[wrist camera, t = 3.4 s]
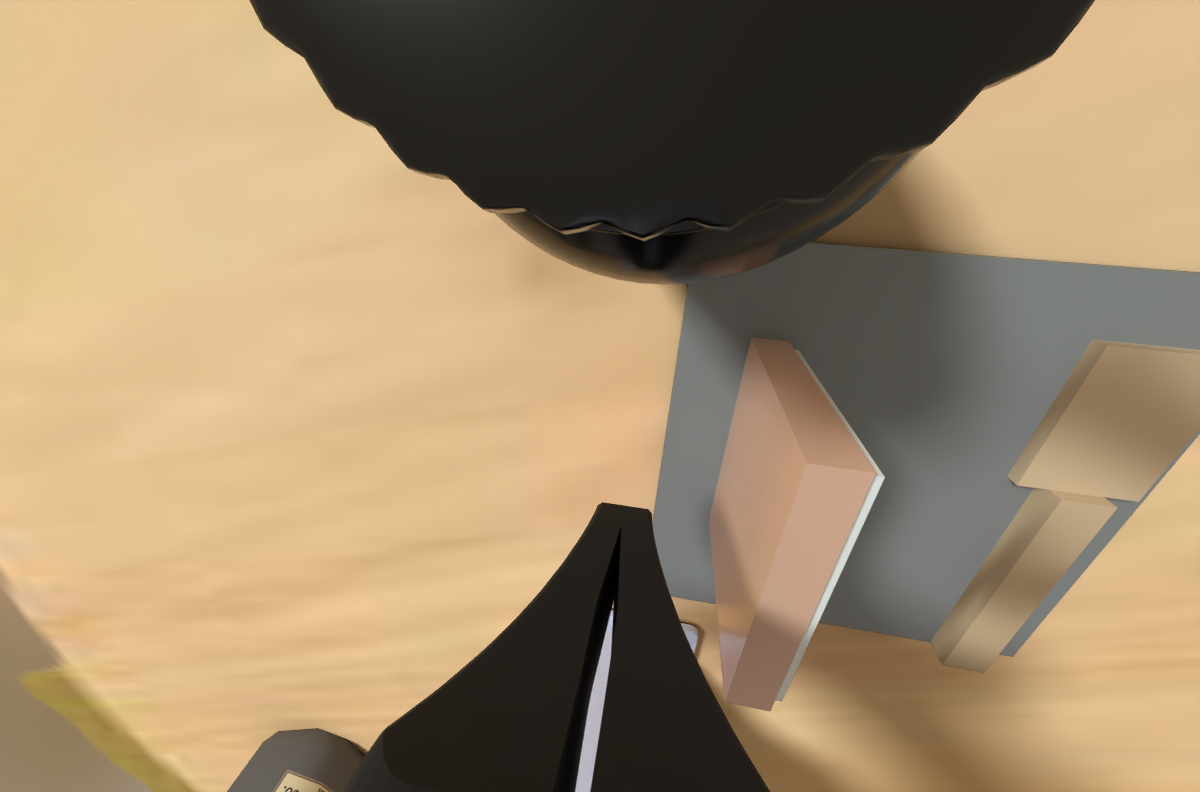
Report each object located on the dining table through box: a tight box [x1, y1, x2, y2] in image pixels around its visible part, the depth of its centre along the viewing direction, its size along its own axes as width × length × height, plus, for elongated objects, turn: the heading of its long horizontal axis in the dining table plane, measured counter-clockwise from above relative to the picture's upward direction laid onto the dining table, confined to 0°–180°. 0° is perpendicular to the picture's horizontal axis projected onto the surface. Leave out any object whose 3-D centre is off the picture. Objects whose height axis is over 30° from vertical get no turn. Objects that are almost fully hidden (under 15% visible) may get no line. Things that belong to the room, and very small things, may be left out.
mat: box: [652, 242, 1200, 657], centre depth 16 cm, size 16×16×1 cm
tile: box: [709, 337, 885, 711], centre depth 13 cm, size 8×2×7 cm, turn 177°
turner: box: [930, 340, 1200, 673], centre depth 15 cm, size 14×4×1 cm, turn 177°
